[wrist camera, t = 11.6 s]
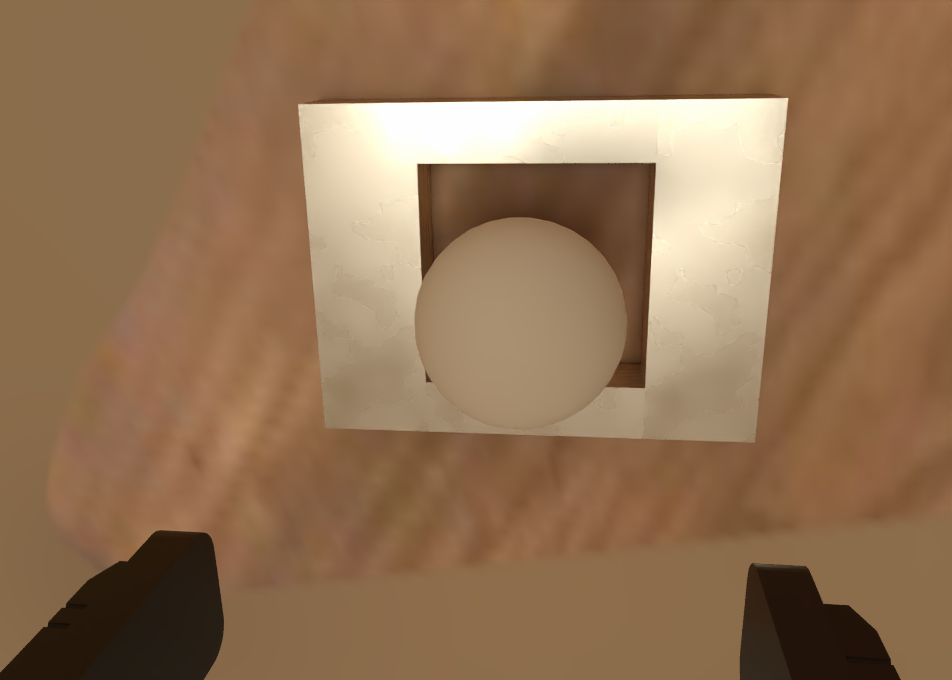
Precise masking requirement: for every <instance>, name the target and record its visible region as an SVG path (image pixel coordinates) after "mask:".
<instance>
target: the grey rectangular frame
mask: <svg viewBox="0 0 952 680" xmlns="http://www.w3.org/2000/svg"><path fill="white" fill-rule="evenodd" d="M787 105H788V98H785V97H781V96H777V95H773V94H746V95H669V96H591V97H513V98H436V99H358V100H317V101H312V102H307V103H302V104H298V109H299V121H300V133H301V145H302V157H303V169H304V181H305V193H306V205H307V217H308V229H309V241H310V253H311V265H312V277H313V289H314V301H315V313H316V325H317V337H318V349H319V361H320V373H321V385H322V397H323V409H324V421H325V428H341V429H370V430H399V431H429V432H458V433H487V434H516V435H546V436H575V437H604V438H634V439H663V440H692V441H722V442H751V443H755V436H756V426H757V416H758V405H759V395H760V385H761V374H762V364H763V354H764V343H765V333H766V323H767V312H768V302H769V292H770V281H771V271H772V260H773V250H774V240H775V229H776V219H777V209H778V198H779V188H780V178H781V167H782V157H783V147H784V136H785V126H786V116H787ZM461 163H650V175H649V197H648V218H647V239H646V260H645V281H644V303H643V324H642V345H641V364H618V366H617V368H616V370H615V372H614V374H613V376H612V378H611V380H610V381H609V383H608V384H607V385H606V387H605V388H604V389H603V391H602V392H601V393H600V394H599V396H598V397H597V398H595V399H594V400H593V401H592V402H591V403H590V404H589V405H587V406H586V407H585V408H584V409H583V410H581V411H579V412H577V413H576V414H574V415H572V416H570V417H569V418H567V419H565V420H563V421H561V422H558V423H555V424H552V425H549V426H546V427H541V428H534V429H528V430H520V429H505V428H500V427H495V426H491V425H487V424H485V423H482V422H480V421H478V420H475V419H473V418H471V417H469V416H468V415H466V414H464V413H463V412H461V411H460V410H458V409H457V408H455V407H454V406H453V405H452V404H451V403H450V402H449V401H448V400H447V399H446V398H445V397H443V396H442V395H441V393H440V392H439V390H438V389H437V388H436V386H435V385H434V384H433V382H432V381H431V379H430V378H429V376H428V374H427V372H426V370H425V368H424V366H423V364H422V362H421V360H420V356H419V352H418V348H417V344H416V340H415V321H414V314H415V308H416V302H417V296H418V293H419V290H420V287H421V285H422V282H423V279H424V277H425V275H426V274H427V272H428V270H429V269H430V267H431V266H432V264H433V241H432V213H431V185H430V164H461Z"/></svg>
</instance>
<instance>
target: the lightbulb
mask: <svg viewBox="0 0 952 680" xmlns="http://www.w3.org/2000/svg"><path fill="white" fill-rule="evenodd" d="M414 321H415V340H416V344H417V348H418V352H419V356H420V360H421V362H422V364H423V366H424V368H425V370H426V372H427V374H428V376H429V378H430V379H431V381H432V382H433V384H434V385H435V386H436V388H437V389H438V390H439V392H440V393H441V395H442V396H443V397H445V398H446V399H447V400H448V401H449V402H450V403H451V404H452V405H453V406H454V407H455V408H457V409H458V410H460V411H461V412H463V413H464V414H466V415H468V416H469V417H471V418H473V419H475V420H478V421H480V422H482V423H485V424H487V425H491V426H495V427H500V428H505V429H520V430H528V429H534V428H541V427H546V426H549V425H552V424H555V423H558V422H561V421H563V420H565V419H567V418H569V417H570V416H572V415H574V414H576V413H577V412H579V411H581V410H583V409H584V408H585V407H586V406H587V405H589V404H590V403H591V402H592V401H593V400H594V399H595V398H597V397H598V396H599V394H600V393H601V392H602V391H603V389H604V388H605V387H606V385H607V384H608V383H609V381H610V380H611V378H612V376H613V374H614V372H615V370H616V368H617V366H618V364H619V362H620V360H621V358H622V354H623V350H624V346H625V342H626V336H627V314H626V308H625V302H624V296H623V292H622V289H621V287H620V284H619V282H618V279H617V277H616V274H615V272H614V271H613V269H612V268H611V266H610V265H609V263H608V262H607V260H606V259H605V257H604V256H603V255H602V254H601V253H600V252H599V251H598V250H597V249H596V248H595V247H594V246H593V245H592V244H591V243H590V242H589V241H588V240H586V239H585V238H583V237H582V236H580V235H579V234H577V233H576V232H574V231H573V230H571V229H568V228H566V227H564V226H561V225H559V224H556V223H554V222H551V221H546V220H541V219H536V218H531V217H509V218H504V219H499V220H494V221H489V222H486V223H484V224H482V225H479V226H477V227H474V228H472V229H470V230H468V231H467V232H465V233H464V234H462V235H461V236H459V237H458V238H456V239H455V240H453V241H452V242H451V243H450V244H449V245H448V246H447V247H446V248H445V249H444V250H443V251H442V252H441V253H440V254H439V256H438V257H437V258H436V260H435V261H434V263H433V264H432V266H431V267H430V269H429V270H428V272H427V274H426V275H425V277H424V279H423V282H422V285H421V287H420V290H419V293H418V296H417V302H416V308H415V314H414Z"/></svg>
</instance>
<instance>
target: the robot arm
mask: <svg viewBox="0 0 952 680" xmlns="http://www.w3.org/2000/svg"><path fill="white" fill-rule="evenodd" d="M223 631H224V617H223V609H222V602H221V595H220V587H219V580H218V573H217V566H216V559H215V551H214V545H213V542H212V539H211V537H210V536H209V535H208V534H207V533H201V532H182V531H163V530H159V531H156V532H155V533H153V534H152V535H151V536H150V537H149V538H148V540H147V541H146V542H145V543H144V544H143V545H142V546H141V547H140V548H139V549H138V551H137V552H136V553H135V554H134V555H133V556H132V557H131V558H130V559H129V560H128V562H126V561H119V562H118V563H116V564H114V565H113V566H111V567H109V568H108V569H106V570H104V571H103V572H101V573H99V574H98V575H96V576H94V577H93V578H91V579H89V580H88V581H87V582H86V583H85V584H84V585H83V586H82V587H81V588H80V589H79V590H78V591H77V593H76V594H75V595H74V596H73V597H72V598H71V599H70V600H69V601H68V602H67V603H66V608H61V609H60V611H58V612H57V614H56V615H55V616H54V617H53V618H52V619H51V620H50V621H49V622H48V627H43V628H42V629H41V630H40V631H39V632H38V634H37V635H36V636H35V637H34V638H33V639H32V640H31V641H30V642H29V643H28V644H27V645H26V646H25V647H24V648H23V649H22V650H21V651H20V653H19V654H18V655H17V656H16V657H15V658H14V659H13V660H12V661H11V662H10V663H9V664H8V665H7V666H6V667H5V668H4V669H3V670H2V672H0V680H204V678H205V677H206V675H207V673H208V672H209V670H210V669H211V667H212V665H213V664H214V662H215V660H216V658H217V656H218V653H219V650H220V647H221V643H222V638H223ZM740 680H901V679H900V678H899V675H898V673H897V671H896V669H895V667H894V665H891V659H890V657H889V655H888V653H887V651H886V649H885V647H884V645H883V643H882V641H881V639H880V637H879V635H878V633H877V631H876V630H875V629H874V628H873V627H872V626H871V625H869V624H868V623H867V622H866V621H865V620H864V619H863V618H862V617H861V616H860V615H859V614H858V613H856V612H855V611H854V610H853V609H852V608H851V607H850V606H849V605H832V604H823V602H822V600H821V597H820V595H819V592H818V590H817V588H816V585H815V583H814V580H813V578H812V576H811V573H810V571H809V569H808V568H807V567H806V566H793V565H774V564H756V563H752V564H751V565H750V567H749V571H748V577H747V588H746V598H745V609H744V619H743V629H742V641H741V651H740Z"/></svg>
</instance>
